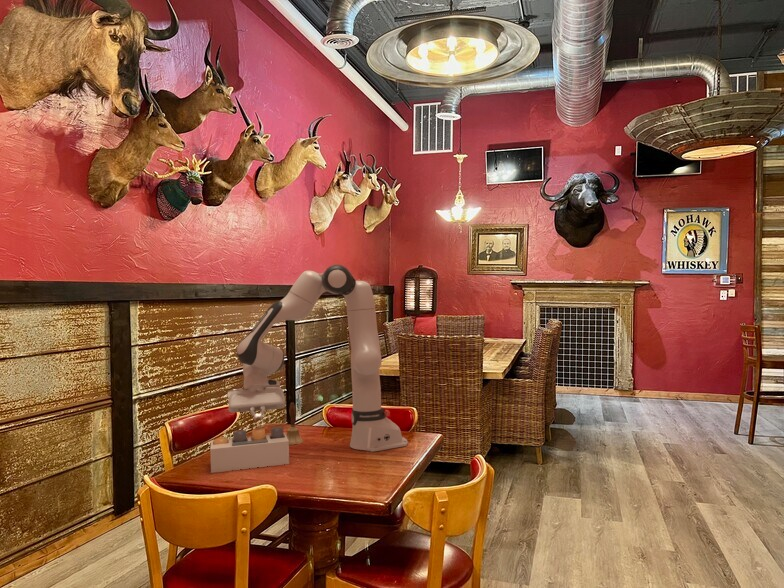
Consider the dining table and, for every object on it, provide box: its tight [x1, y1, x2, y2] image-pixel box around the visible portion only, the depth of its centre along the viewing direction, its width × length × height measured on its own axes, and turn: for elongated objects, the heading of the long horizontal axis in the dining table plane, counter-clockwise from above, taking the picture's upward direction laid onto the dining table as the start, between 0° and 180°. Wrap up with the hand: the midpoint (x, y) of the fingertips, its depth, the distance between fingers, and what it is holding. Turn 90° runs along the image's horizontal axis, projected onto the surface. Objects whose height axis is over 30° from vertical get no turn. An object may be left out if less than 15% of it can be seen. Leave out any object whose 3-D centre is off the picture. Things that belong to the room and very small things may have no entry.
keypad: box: [209, 432, 290, 474], centre depth 191 cm, size 26×12×8 cm, turn 107°
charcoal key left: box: [270, 426, 284, 439], centre depth 196 cm, size 4×4×6 cm
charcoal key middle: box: [232, 429, 247, 442], centre depth 192 cm, size 4×4×6 cm
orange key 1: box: [213, 437, 228, 445], centre depth 190 cm, size 4×4×6 cm
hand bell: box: [286, 402, 304, 446], centre depth 218 cm, size 8×8×16 cm
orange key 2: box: [251, 427, 266, 440], centre depth 194 cm, size 4×4×6 cm
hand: (258, 419), depth 194 cm, fingers closed
